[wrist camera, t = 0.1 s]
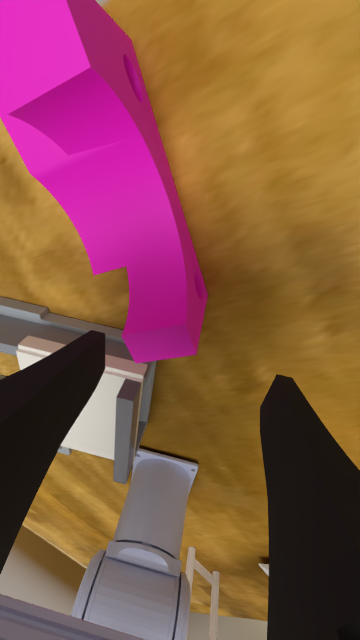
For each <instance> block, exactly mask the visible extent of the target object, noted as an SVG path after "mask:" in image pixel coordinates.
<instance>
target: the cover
mask: <svg viewBox="0 0 360 640" xmlns="http://www.w3.org/2000/svg"><path fill="white" fill-rule="evenodd" d="M64 346H66V345H65V344H61V343H57V342H53V341H49V340H45V339H41V338H36V337H32V336H27V337H26V338H25V339H23V340H22V341H21V342H20V343H19V344H18V348H19V349H18V350H16V354H17V358H18V362H19V366H20V370H22V369H24V368H26V367H28V366H30V365H32V364H34V363H36V362H37V361H39V360H41V359H43V358H45V357H47V356H49V355H50V354H52V353H54V352H55V351H57V350H59V349H61V348H62V347H64ZM146 370H147V364H143V363H136V364H135V362H134V361H131V360H127V359H123V358H118V357H114V356H110V355H106V354H105V370H104V373H103V375H102V377H101V379H100V381H99V383H98V385H97V387H96V389H95V391H94V393H93V394H92V396H91V398H90V399H89V401H88V402H87V404H86V405H85V407H84V409H83V410H82V412H81V413H80V415H79V416H78V418H77V420H76V421H75V423H74V424H73V426H72V427H71V429H70V431H69V432H68V434H67V435H66V437H65V439H64V440H63V442H62V444H61V445H60V446H63V447H67V448H71V449H74V450H78V451H82V452H86V453H89V454H93V455H97V456H100V457H104V458H108V459H112V460H114V479H113V481H115V482H119V483H123V484H126V483H127V480H128V477H129V474H130V471H131V468H132V465H133V463H134V460H135V449H136V440H137V431H138V422H139V414H140V405H141V396H142V387H143V378H144V374H145V372H146Z"/></svg>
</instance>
